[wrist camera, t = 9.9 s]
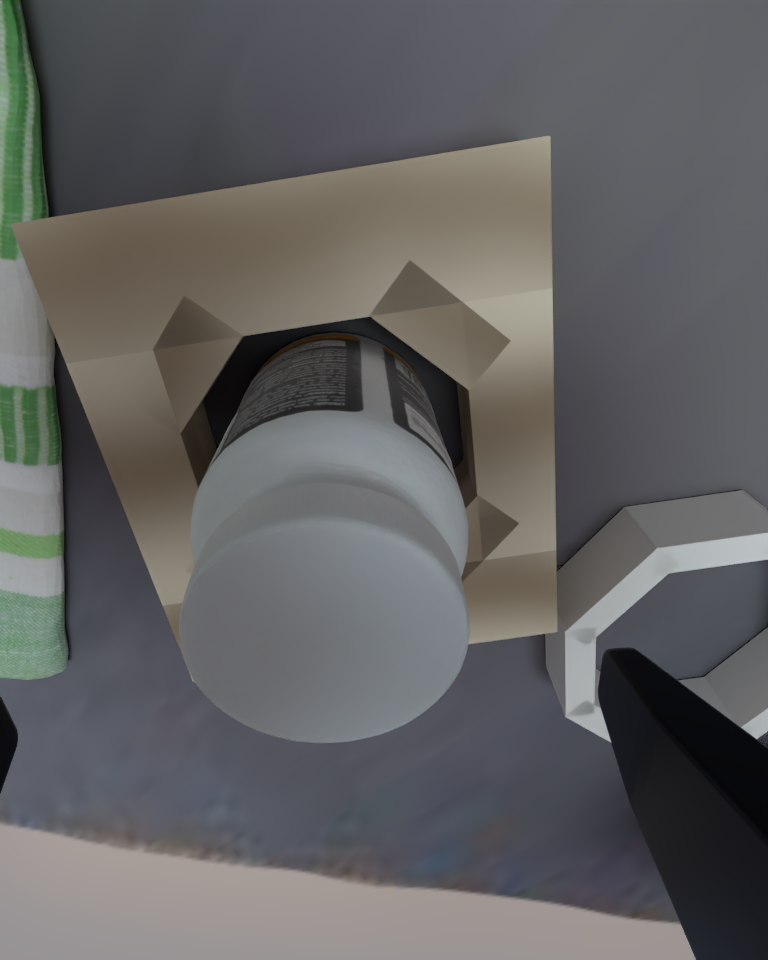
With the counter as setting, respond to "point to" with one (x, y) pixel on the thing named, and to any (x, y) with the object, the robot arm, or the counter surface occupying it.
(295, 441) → the pill bottle
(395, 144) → the counter surface
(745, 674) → the octagonal ring
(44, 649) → the dish towel
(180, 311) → the socket plate
